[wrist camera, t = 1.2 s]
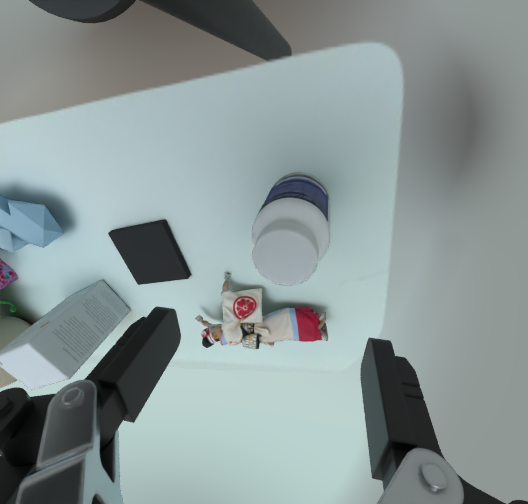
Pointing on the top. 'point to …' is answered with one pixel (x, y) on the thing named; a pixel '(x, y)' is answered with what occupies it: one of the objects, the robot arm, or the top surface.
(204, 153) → the top surface
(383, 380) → the robot arm
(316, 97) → the top surface
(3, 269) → the headband
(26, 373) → the small box
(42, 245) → the polygonal blue rock
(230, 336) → the figurine
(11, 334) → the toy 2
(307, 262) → the pill bottle
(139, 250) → the pad
